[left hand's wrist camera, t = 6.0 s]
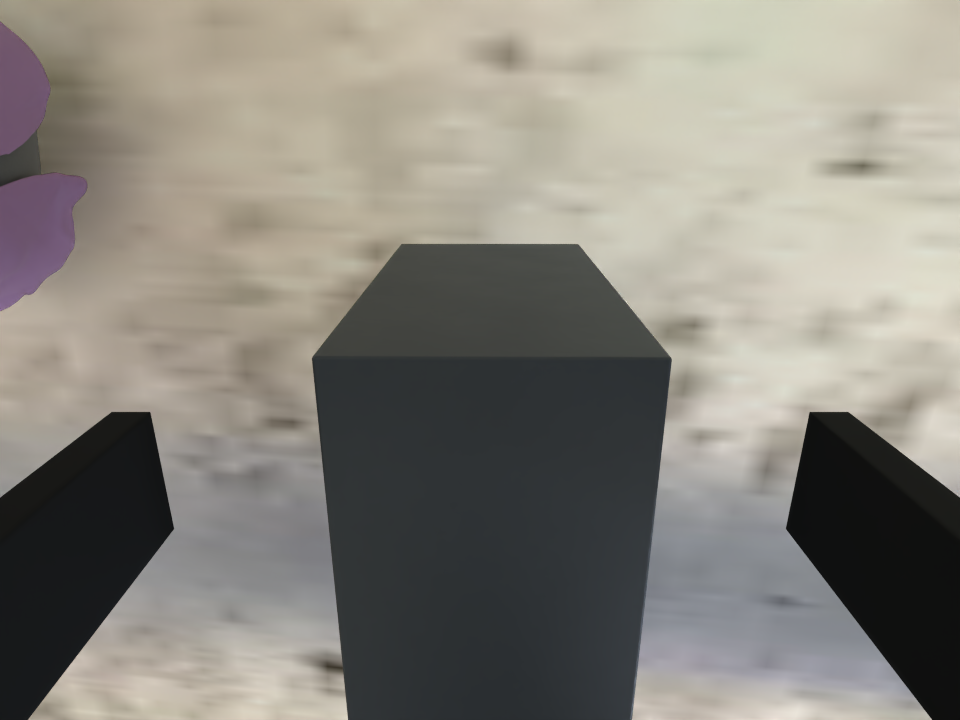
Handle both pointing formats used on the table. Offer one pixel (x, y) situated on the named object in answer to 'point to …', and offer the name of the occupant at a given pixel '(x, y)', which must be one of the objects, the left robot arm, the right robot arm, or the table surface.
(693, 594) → the table surface
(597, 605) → the box
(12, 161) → the toy character
